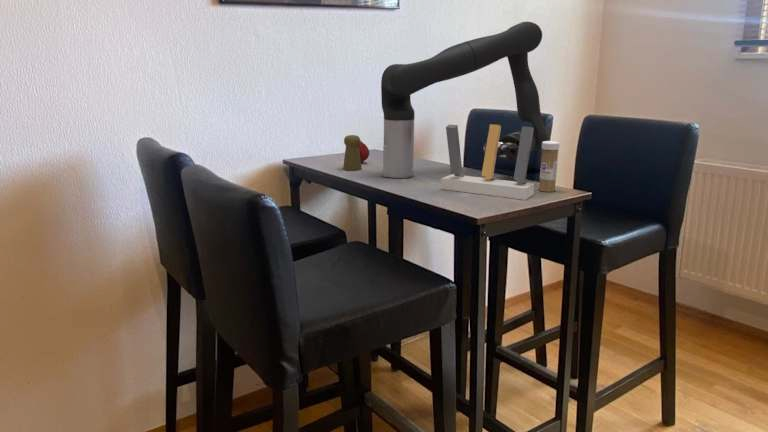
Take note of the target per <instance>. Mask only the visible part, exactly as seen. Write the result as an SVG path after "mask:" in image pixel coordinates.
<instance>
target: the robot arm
mask: <svg viewBox="0 0 768 432" xmlns="http://www.w3.org/2000/svg"><path fill="white" fill-rule="evenodd" d="M542 39H543V31H542V29H541V27H540V26H539V25H538V24H537V23H535V22H532V21H522V22H519V23H517V24H514V25H513V26H511V27H509V28H508V29H506V30H505V31H502V32H499V33H496V34H492V35H487V36H486V35H485V36H482V37H478V38H474V39H470V40H466V41H463V42H459V43H457V44H455V45H452V46H449V47H447V48H445V49H443V50H441V51H440V52H438V53H437V54H436V55H434V56H432V57H429V58H428V59H424V60H420V61H417V62H413V63H405V64H404V63H402V64H401V63H394V64H391V65H388V66H387V67H386V68H385V70H384V71H383V72H382V75H381V81H380V82H381V83H380V89H381V91H380V95H381V108H382V112H383V146H382V147H383V149H382V150H383V151H382V152H383V156H382V157H383V165H382V166H383V170H382V172H383V174H382V175H383V176H382V177H383V178H393V179H406V178H412V177H413V176H414V173H415V172H414V171H415V170H414V169H415V167H414V163H415V161H414V159H415V156H414V155H415V110H414V107H413V106H412V102H411V96H412V95H413V94H414V93H417V92H420V91H421V90H423V89H425V88H427V87H430V86H432V85H433V84H437V83H440V82H441V83H442V82H445V81H449V80H452V79H456V78H459V77H462V76H465V75H469V74H471V73H474V72H476V71H479V70H481V69H483V68H485V67H487V66H490V65H492V64H494V63H496V62H498V61H499V60H502V59H504V58H507V60H508V65H509V68H510V72H511V77H512V81H513V87H514V93H515V101H516V110H517V118H518V120H519V121H520V122H522V123H523V122H524V123H530V124H532V126H533V128H534V131H533V137H532V143H531V149H530V152H532V151H542V142H544V141H550V136H549V133H548V130H547V128H546V126H545V124H544V123H545V122H544V120H543V117H542V112H541V105H540V94H539V91H538V87H537V85H536V83H535V81H534V78H533V76H532V74H531V71H530V66H529V58H528V57H529V56H528V55H529V53H531V52H533V51H534V50H536V49H537V48H538V47H539V45H540V44H541V43H542ZM521 131H522V129H520V130H517V131H516V132H511V133H508V134H506V135H504V136H502V137H501V138H499V143H498V149H497V155H496V158H498V157H500V158H501V159H503V160H504V161H514V160H517V155H518V149H519V143H520V137H521ZM486 145H487V142H485V143H483V149H482V150H483V151H482V152H483V153H484V154H485V151H486Z"/></svg>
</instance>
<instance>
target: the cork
mask: <svg viewBox="0 0 768 432" xmlns="http://www.w3.org/2000/svg"><path fill="white" fill-rule="evenodd" d="M360 140H361V138H360V137H359V135H355V134H350V135H349V134H348V135H346V136H344V140H343V144H344V145H345V152H344V159H343V165H342V167H343V168H342V170H344V171H347V172H356V171H357V172H358V171H362V169H363V168H362V163H361V160H360V153H359V144H360Z"/></svg>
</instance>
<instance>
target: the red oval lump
mask: <svg viewBox="0 0 768 432" xmlns="http://www.w3.org/2000/svg"><path fill="white" fill-rule="evenodd" d="M359 153H360V160H361V164H362V163H364V162H365V161H366V160H368V158H369V157H370V149H369V148H368V146H367V145H366V144H365V143H364V142H363V141H362V140H361V139H360V144H359Z"/></svg>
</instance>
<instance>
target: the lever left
mask: <svg viewBox="0 0 768 432" xmlns="http://www.w3.org/2000/svg"><path fill="white" fill-rule="evenodd" d="M458 127H459V126H458V124H448V125H446V127H445V130H446V139H447V140H446V141H447V149H448V151H447V152H448V158H449V166H450V168H449V169H450V175H452V174H454V175H455V176H457V177H458V176H460V175H462V173H463V167H462V165H463V164H462V155H461V147H460V145H461V144H460V133H459V128H458Z"/></svg>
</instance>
